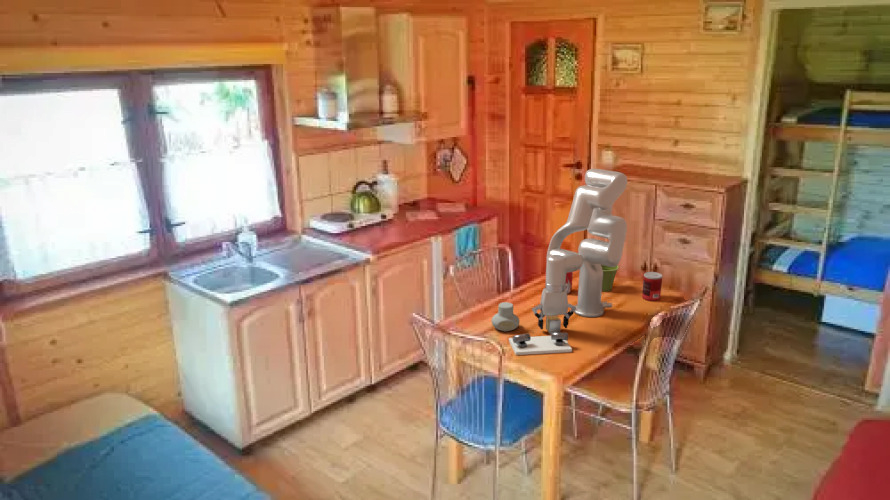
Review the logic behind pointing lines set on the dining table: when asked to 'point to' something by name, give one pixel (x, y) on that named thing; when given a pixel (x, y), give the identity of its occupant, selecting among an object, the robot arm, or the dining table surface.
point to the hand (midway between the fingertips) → (553, 327)
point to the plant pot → (608, 277)
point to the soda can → (569, 281)
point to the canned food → (652, 286)
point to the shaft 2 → (559, 337)
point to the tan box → (553, 323)
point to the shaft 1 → (521, 340)
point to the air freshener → (505, 317)
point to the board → (540, 346)
